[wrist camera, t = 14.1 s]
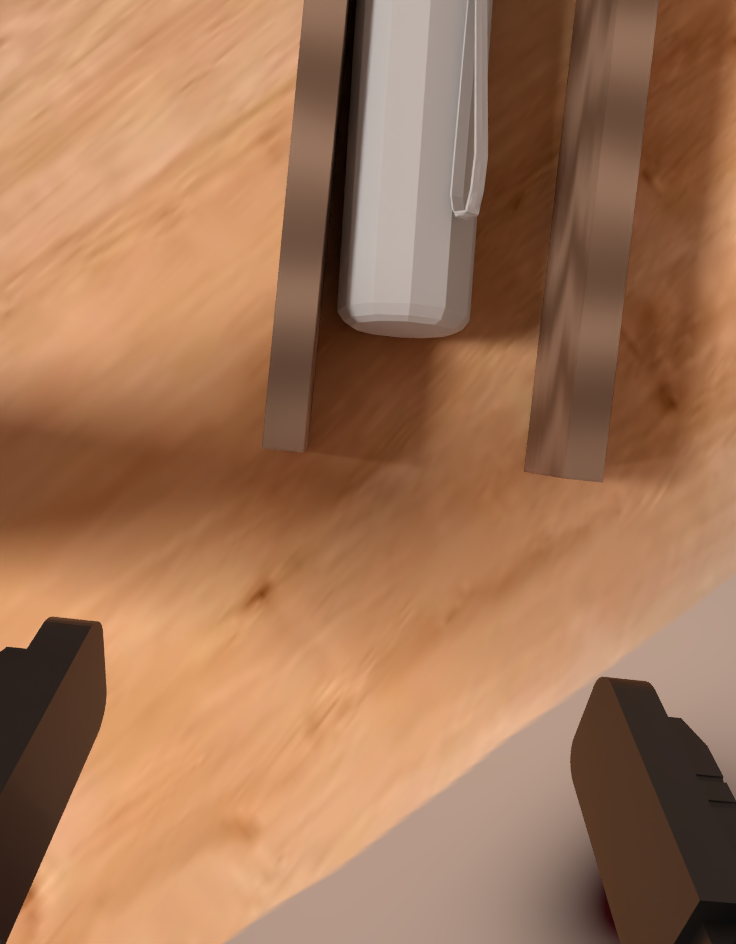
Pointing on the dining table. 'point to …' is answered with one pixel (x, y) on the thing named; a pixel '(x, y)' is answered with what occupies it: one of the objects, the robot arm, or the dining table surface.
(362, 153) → the water bottle
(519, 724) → the dining table surface
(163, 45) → the dining table surface
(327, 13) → the bottle rest
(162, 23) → the dining table surface
